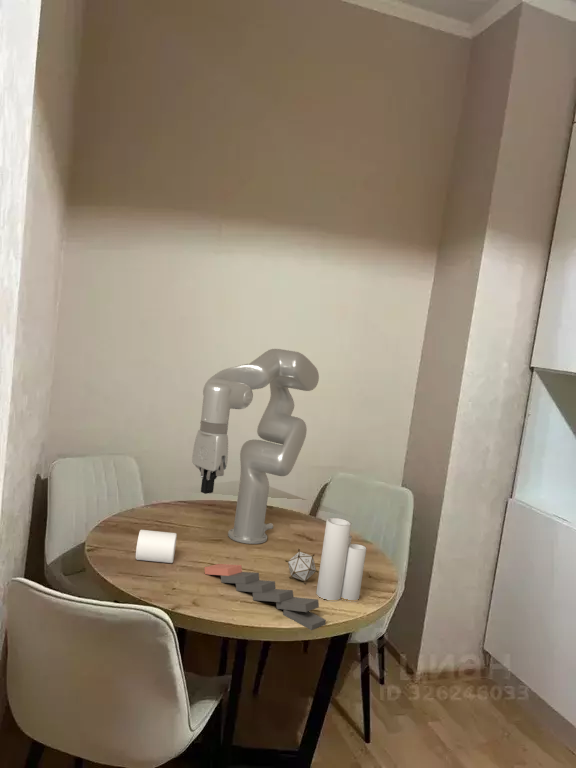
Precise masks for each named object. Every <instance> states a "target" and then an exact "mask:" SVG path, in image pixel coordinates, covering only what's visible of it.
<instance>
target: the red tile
mask: <svg viewBox="0 0 576 768" xmlns="http://www.w3.org/2000/svg"><path fill="white" fill-rule="evenodd" d="M242 568H243V567H242V564H229V563H217V564H212V565H208V566H205V567H204V574H205V575H210V576H211V575H212V576H221V575H223V576H230V575H233V574H237V573H240V572H243V569H242Z"/></svg>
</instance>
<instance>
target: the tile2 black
mask: <svg viewBox="0 0 576 768" xmlns="http://www.w3.org/2000/svg"><path fill="white" fill-rule="evenodd" d="M257 580H260V573H259V572H251V571H250V572H249V571H242V572H240V573H237V574H233V575H230V576H223V575H220V583H224V584H225V583H226V584H236V583H238V584H247V583H251V582H254V581H257Z"/></svg>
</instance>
